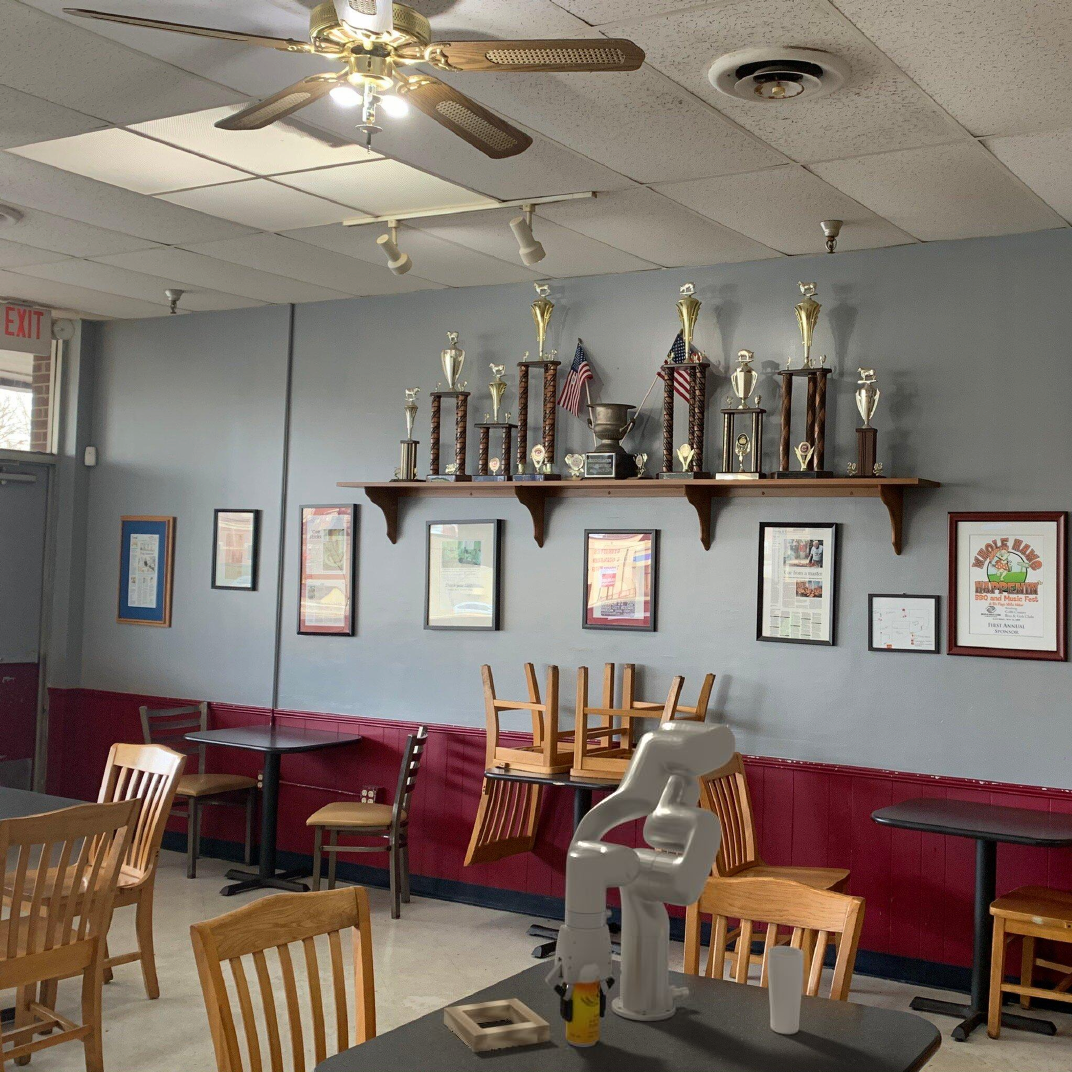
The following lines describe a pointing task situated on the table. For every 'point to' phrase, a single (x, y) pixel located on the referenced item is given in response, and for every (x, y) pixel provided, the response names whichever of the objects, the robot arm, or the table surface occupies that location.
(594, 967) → the beer can
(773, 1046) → the table surface
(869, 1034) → the table surface
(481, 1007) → the can holder
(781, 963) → the drinking glass
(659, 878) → the robot arm
